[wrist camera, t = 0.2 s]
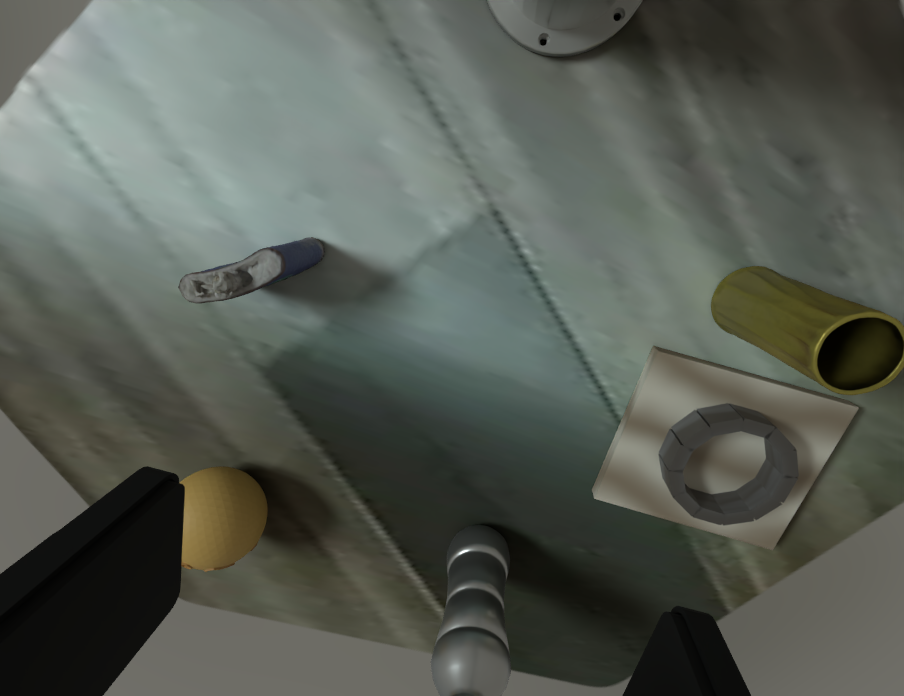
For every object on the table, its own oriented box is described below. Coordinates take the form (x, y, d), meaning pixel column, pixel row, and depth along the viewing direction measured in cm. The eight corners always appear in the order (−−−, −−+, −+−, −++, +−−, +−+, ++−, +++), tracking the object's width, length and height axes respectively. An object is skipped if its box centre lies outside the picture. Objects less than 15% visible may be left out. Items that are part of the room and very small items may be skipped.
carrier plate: (653, 345, 44) (668, 362, 40) (847, 400, 44) (884, 423, 39) (591, 489, 49) (599, 518, 45) (765, 539, 49) (789, 573, 45)
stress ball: (249, 436, 53) (142, 465, 48) (275, 496, 46) (153, 538, 41) (258, 502, 58) (161, 536, 52) (283, 565, 51) (174, 611, 45)
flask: (319, 232, 44) (263, 246, 34) (331, 263, 45) (280, 286, 35) (232, 262, 46) (154, 284, 36) (245, 291, 47) (173, 321, 37)
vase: (798, 310, 42) (937, 369, 28) (729, 348, 43) (830, 420, 30) (766, 251, 40) (895, 283, 27) (697, 292, 42) (786, 341, 29)
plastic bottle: (437, 543, 53) (399, 737, 35) (476, 504, 51) (457, 689, 32) (483, 576, 54) (469, 784, 35) (523, 539, 52) (531, 739, 33)
